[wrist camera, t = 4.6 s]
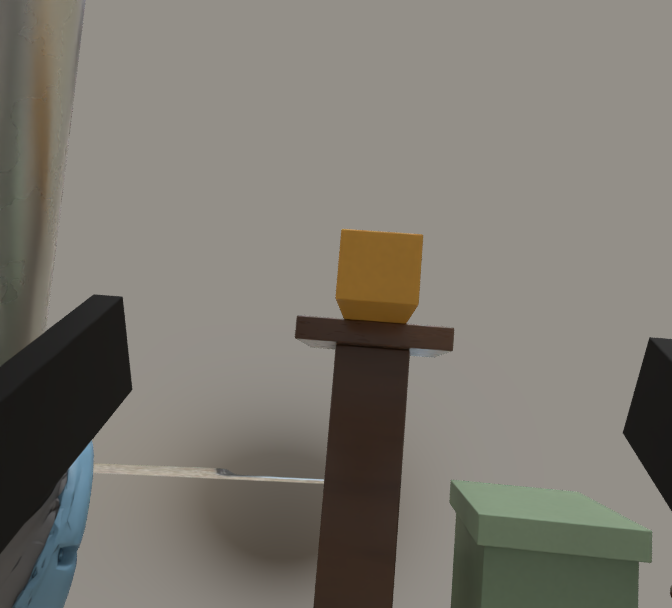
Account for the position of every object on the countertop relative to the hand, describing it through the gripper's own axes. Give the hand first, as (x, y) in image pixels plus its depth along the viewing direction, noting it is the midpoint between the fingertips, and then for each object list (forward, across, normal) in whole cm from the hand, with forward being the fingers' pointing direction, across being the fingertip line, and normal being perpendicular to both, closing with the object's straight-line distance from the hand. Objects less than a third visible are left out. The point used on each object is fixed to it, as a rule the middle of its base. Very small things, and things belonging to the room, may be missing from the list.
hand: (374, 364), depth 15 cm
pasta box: (+22, 0, -9) cm, 24 cm away
